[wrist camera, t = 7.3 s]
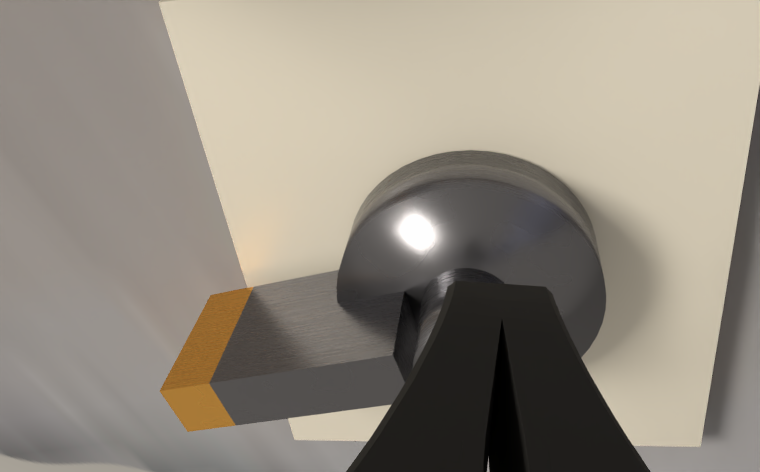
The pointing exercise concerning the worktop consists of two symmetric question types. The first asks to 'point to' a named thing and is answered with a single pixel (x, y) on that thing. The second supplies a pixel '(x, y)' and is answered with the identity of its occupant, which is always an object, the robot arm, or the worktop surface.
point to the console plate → (495, 150)
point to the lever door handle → (389, 293)
